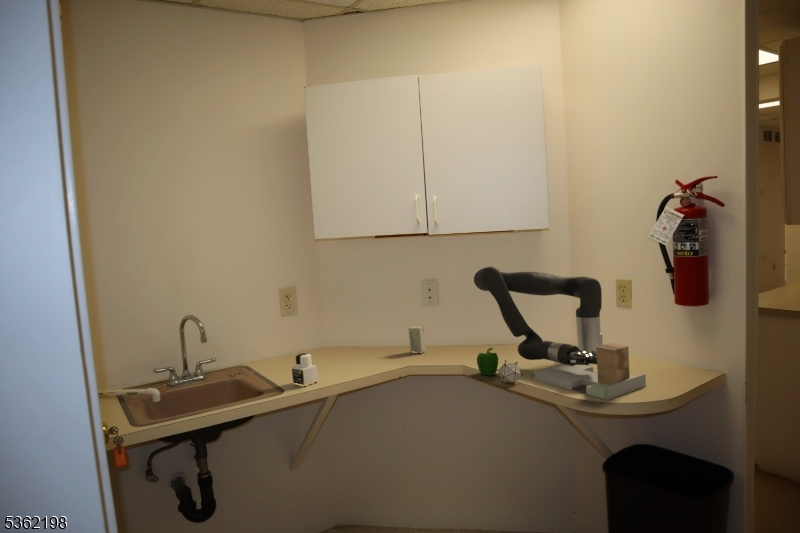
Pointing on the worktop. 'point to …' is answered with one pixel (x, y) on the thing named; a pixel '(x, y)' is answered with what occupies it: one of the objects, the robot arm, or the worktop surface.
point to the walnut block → (612, 363)
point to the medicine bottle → (304, 370)
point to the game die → (509, 372)
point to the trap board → (588, 381)
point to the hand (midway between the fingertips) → (604, 362)
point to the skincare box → (417, 339)
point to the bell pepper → (487, 362)
